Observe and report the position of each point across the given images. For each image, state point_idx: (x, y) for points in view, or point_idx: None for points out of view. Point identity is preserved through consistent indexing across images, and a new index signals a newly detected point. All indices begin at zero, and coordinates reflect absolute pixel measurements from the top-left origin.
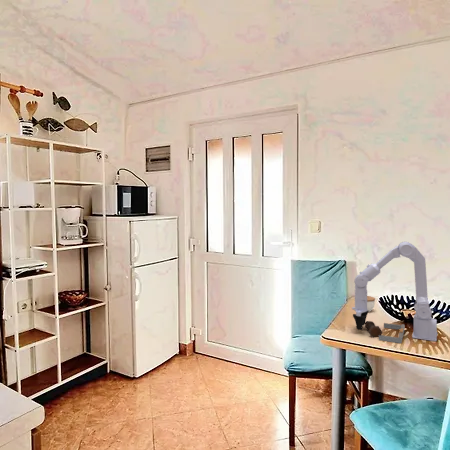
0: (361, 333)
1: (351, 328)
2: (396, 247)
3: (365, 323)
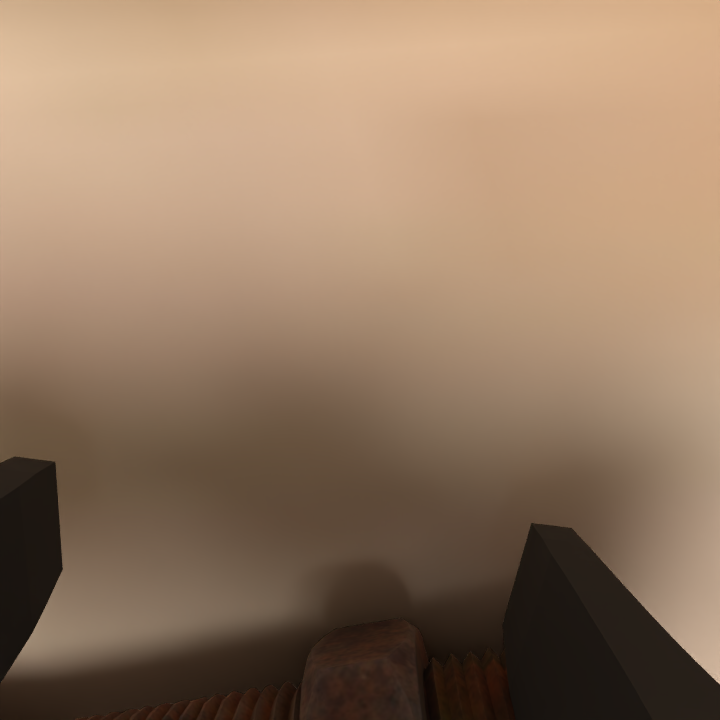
0: None
1: (364, 240)
2: None
3: None
